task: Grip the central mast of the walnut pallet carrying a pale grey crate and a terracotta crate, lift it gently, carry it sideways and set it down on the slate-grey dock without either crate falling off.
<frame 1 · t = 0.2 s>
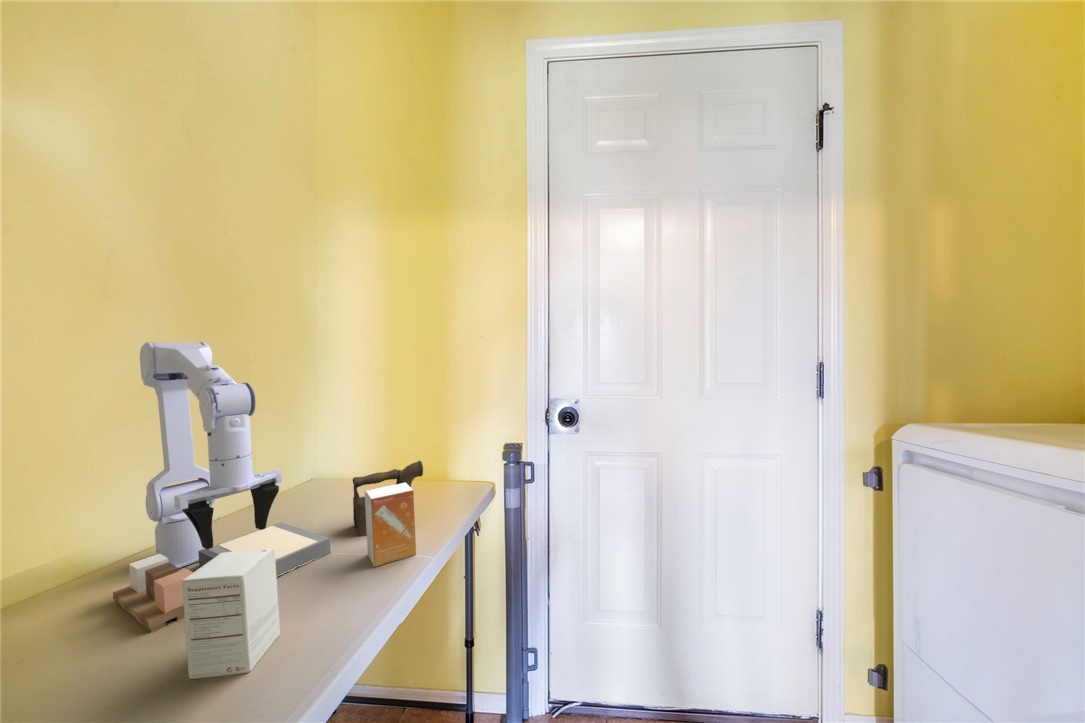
hand: (235, 537, 68), 10 cm above the table, fingers open, 7 cm apart
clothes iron: (387, 524, 96), on the table
pallet: (163, 604, 67), on the table, touching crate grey, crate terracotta
small box: (392, 556, 80), on the table
supplement box: (237, 657, 54), on the table
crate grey: (150, 584, 70), point 2 cm above the table, touching pallet
dock: (266, 559, 80), on the table
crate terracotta: (176, 602, 64), point 2 cm above the table, touching pallet
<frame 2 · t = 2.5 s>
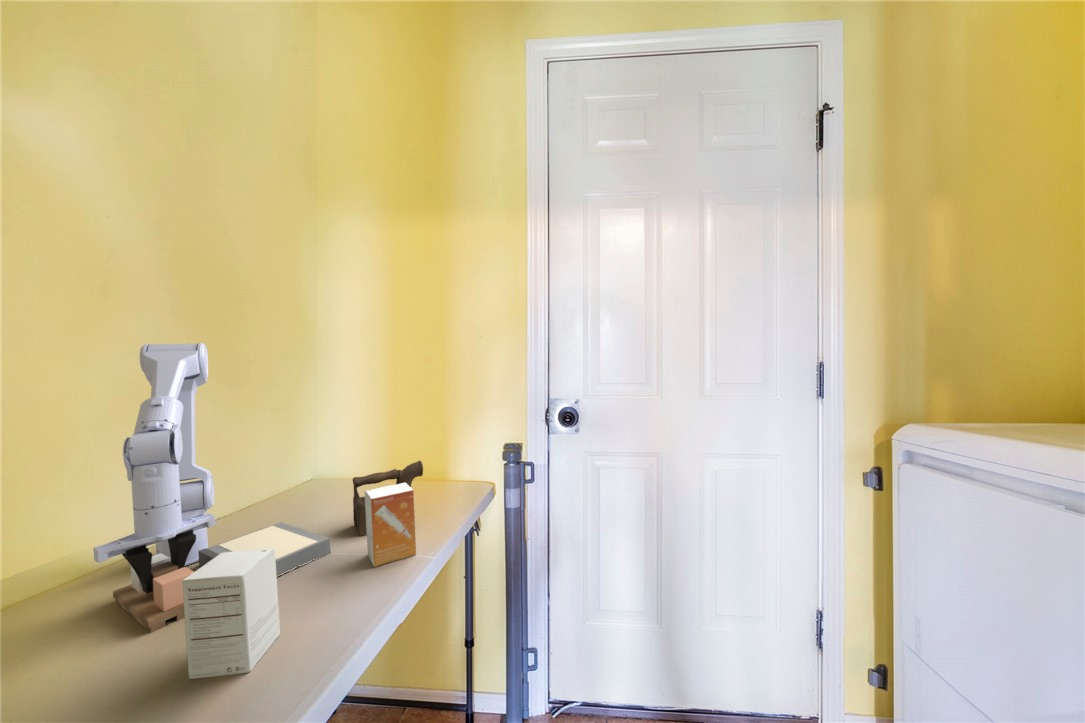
hand: (162, 585, 67), 3 cm above the table, fingers closed on pallet, 3 cm apart
pallet: (163, 603, 67), on the table, touching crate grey, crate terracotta, gripper
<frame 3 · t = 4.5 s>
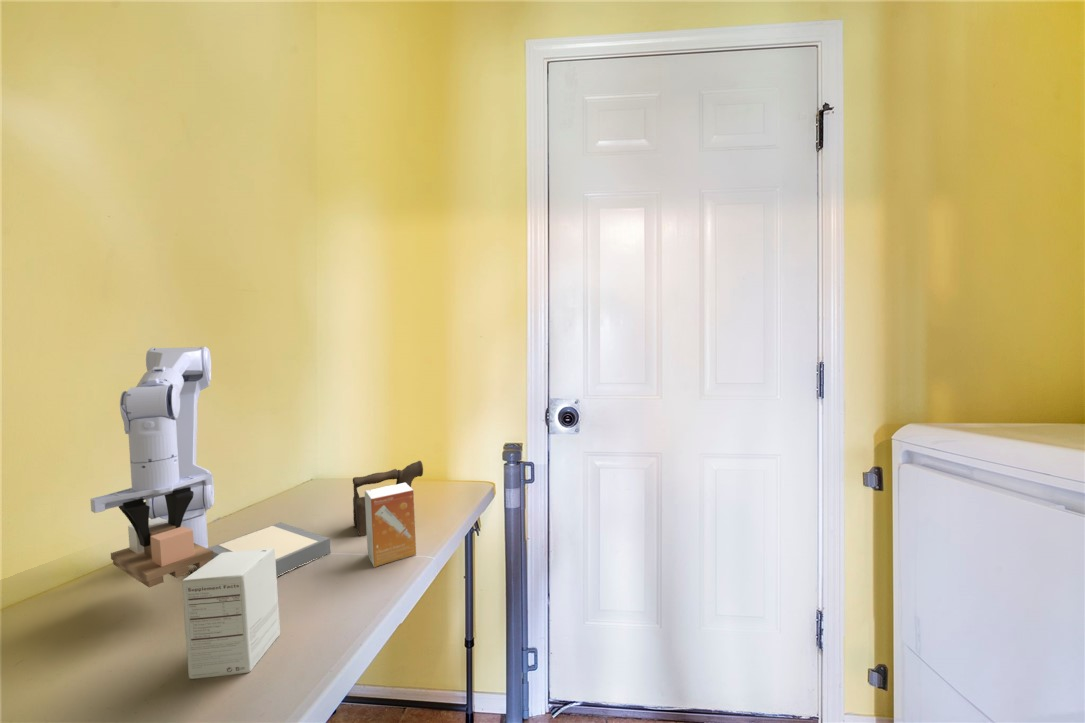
hand: (159, 540, 67), 10 cm above the table, fingers closed on pallet, 3 cm apart
pallet: (161, 564, 67), point 6 cm above the table, touching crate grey, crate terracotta, gripper
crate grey: (149, 546, 70), point 8 cm above the table, touching pallet
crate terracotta: (173, 558, 64), point 9 cm above the table, touching pallet
everything else where it was.
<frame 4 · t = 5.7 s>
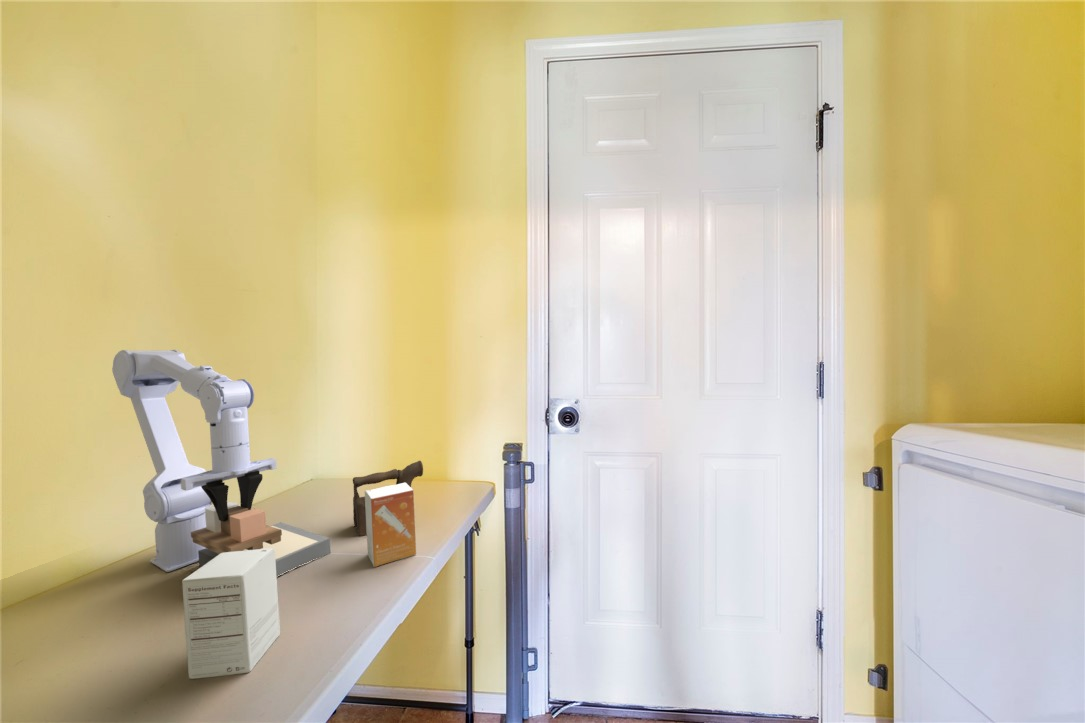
hand: (234, 516, 76), 10 cm above the table, fingers closed on pallet, 3 cm apart
pallet: (236, 541, 76), point 6 cm above the table, touching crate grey, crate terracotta, gripper
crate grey: (223, 526, 79), point 8 cm above the table, touching pallet
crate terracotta: (249, 535, 73), point 8 cm above the table, touching pallet
everything else where it was.
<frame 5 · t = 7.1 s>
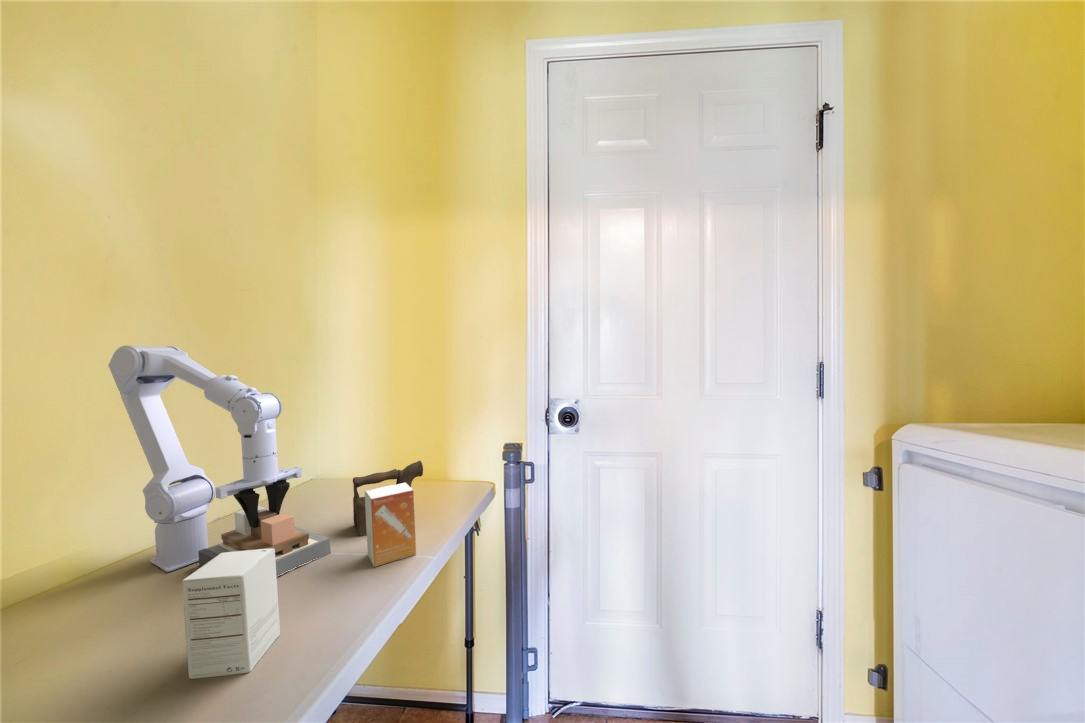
hand: (264, 523, 80), 7 cm above the table, fingers closed on pallet, 3 cm apart
pallet: (265, 544, 80), point 3 cm above the table, touching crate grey, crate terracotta, dock, gripper
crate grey: (251, 529, 83), point 5 cm above the table, touching pallet
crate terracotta: (278, 539, 78), point 5 cm above the table, touching pallet
everything else where it was.
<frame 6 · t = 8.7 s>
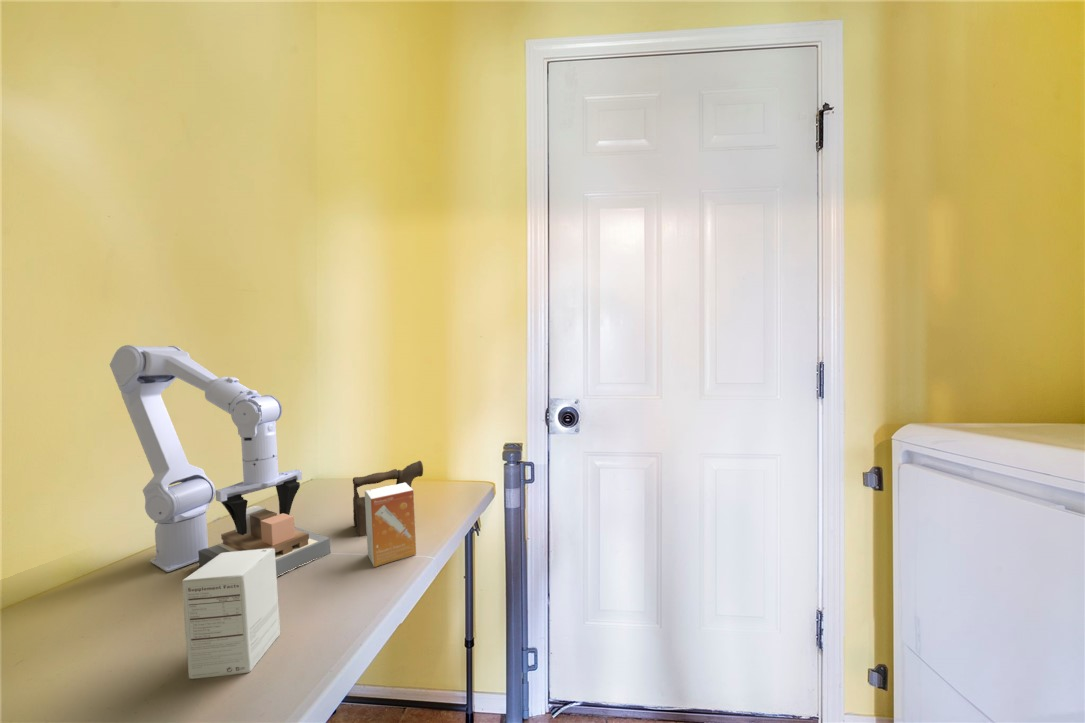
hand: (264, 525, 80), 7 cm above the table, fingers open, 7 cm apart
pallet: (265, 544, 80), point 3 cm above the table, touching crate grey, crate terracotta, dock
everything else where it was.
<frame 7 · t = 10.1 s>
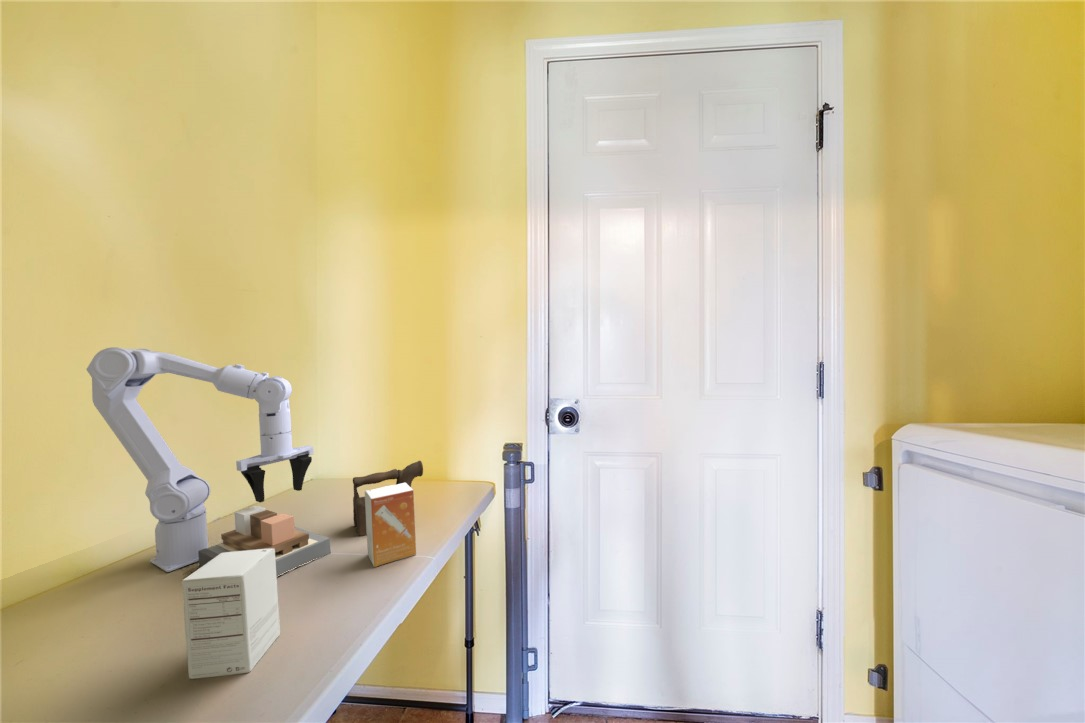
hand: (279, 495, 88), 10 cm above the table, fingers open, 7 cm apart
nothing on the table moved.
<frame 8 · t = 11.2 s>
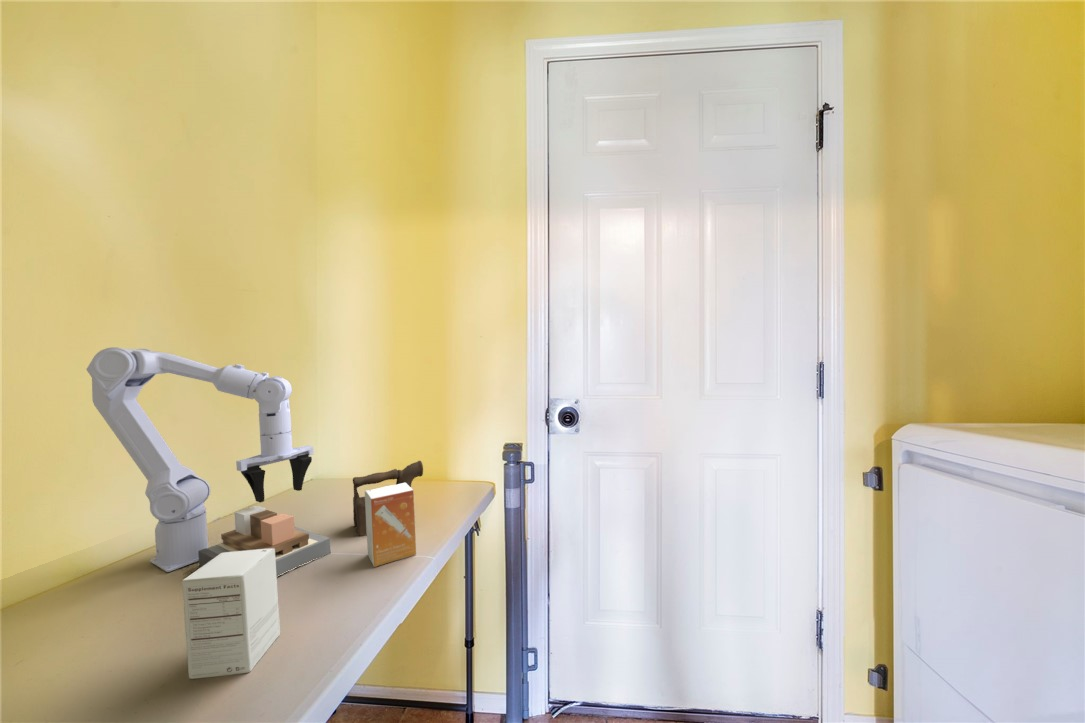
hand: (279, 495, 88), 10 cm above the table, fingers open, 7 cm apart
nothing on the table moved.
at the end: pallet inside the target area on the dock (0.1 cm from its centre), point 3.1 cm above the dock's base; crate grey inside the target area on the pallet (5.2 cm from its centre), point 2.0 cm above the pallet's base; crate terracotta inside the target area on the pallet (5.3 cm from its centre), point 2.0 cm above the pallet's base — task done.
